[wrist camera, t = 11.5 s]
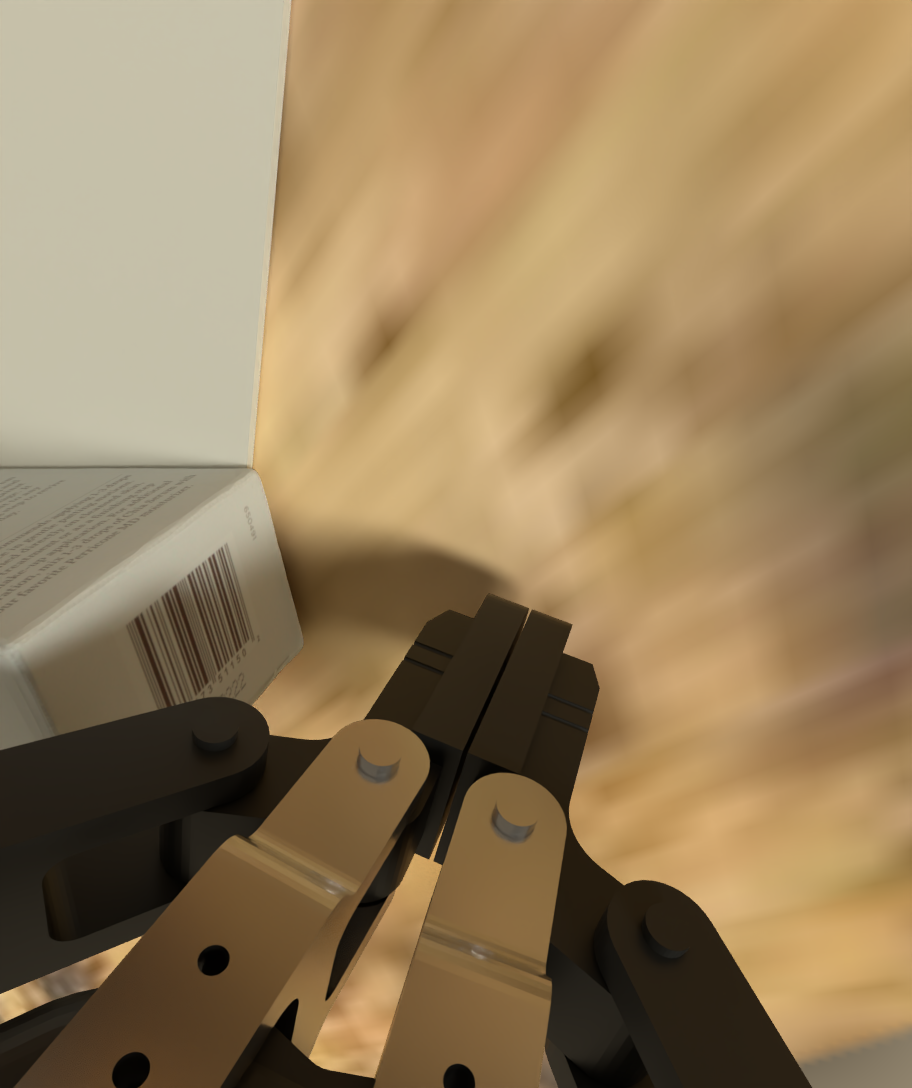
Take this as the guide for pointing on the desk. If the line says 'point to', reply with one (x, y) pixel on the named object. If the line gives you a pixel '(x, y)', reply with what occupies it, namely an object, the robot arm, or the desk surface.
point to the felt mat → (136, 228)
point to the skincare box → (135, 595)
